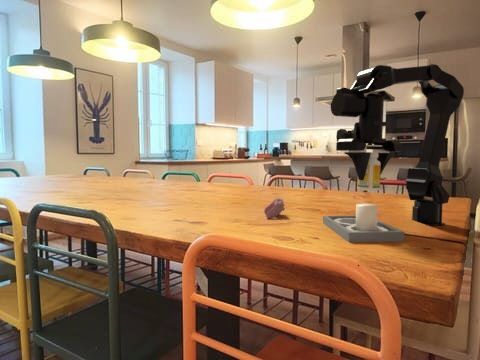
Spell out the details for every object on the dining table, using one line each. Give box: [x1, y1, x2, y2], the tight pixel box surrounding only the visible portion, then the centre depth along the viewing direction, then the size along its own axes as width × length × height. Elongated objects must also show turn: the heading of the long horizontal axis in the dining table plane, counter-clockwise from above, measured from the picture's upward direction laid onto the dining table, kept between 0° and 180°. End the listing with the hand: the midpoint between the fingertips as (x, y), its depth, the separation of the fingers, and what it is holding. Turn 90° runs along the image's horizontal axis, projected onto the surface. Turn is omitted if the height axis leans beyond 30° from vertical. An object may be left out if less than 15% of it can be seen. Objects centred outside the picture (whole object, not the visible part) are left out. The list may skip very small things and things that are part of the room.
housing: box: [322, 214, 405, 243], centre depth 83 cm, size 12×20×3 cm, turn 2°
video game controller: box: [263, 197, 286, 220], centre depth 110 cm, size 10×5×7 cm, turn 0°
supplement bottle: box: [356, 151, 381, 192], centre depth 88 cm, size 5×5×10 cm
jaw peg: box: [355, 203, 379, 231], centre depth 79 cm, size 5×5×7 cm
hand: (368, 179), depth 88 cm, fingers closed on supplement bottle, 5 cm apart
